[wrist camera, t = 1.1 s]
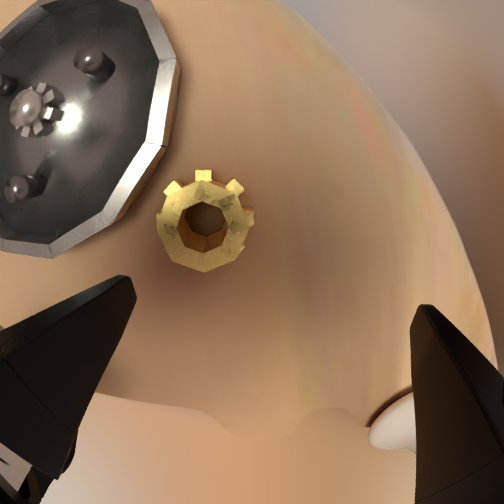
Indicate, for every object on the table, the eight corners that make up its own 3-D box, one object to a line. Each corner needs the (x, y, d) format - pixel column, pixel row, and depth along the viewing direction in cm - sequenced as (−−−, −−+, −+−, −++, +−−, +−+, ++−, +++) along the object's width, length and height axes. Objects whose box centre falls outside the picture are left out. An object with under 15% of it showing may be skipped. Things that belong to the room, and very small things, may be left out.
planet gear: (185, 271, 21) (178, 294, 17) (147, 194, 19) (130, 201, 15) (263, 237, 21) (273, 254, 17) (229, 156, 19) (231, 153, 15)
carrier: (20, 279, 19) (-6, 299, 15) (-35, 97, 13) (-61, 94, 8) (224, 168, 19) (225, 169, 15) (135, -33, 12) (123, -60, 8)
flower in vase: (444, 373, 29) (541, 492, 5) (415, 425, 32) (482, 534, 9) (366, 395, 27) (460, 567, 4) (343, 447, 31) (399, 586, 7)
